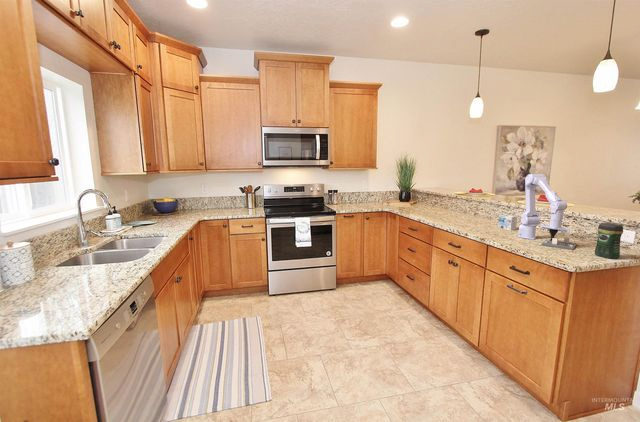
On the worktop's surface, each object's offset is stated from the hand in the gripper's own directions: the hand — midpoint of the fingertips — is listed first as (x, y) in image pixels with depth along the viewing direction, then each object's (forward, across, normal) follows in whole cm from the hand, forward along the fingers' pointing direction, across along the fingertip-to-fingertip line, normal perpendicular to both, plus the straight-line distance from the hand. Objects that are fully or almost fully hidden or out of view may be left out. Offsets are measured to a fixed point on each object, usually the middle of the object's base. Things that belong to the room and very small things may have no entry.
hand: (552, 241), depth 184 cm
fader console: (+2, +3, +4) cm, 6 cm away
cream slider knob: (+1, +6, +8) cm, 10 cm away
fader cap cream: (+1, +1, 0) cm, 2 cm away
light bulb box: (+4, -34, +36) cm, 50 cm away
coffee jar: (+2, +25, -8) cm, 26 cm away
